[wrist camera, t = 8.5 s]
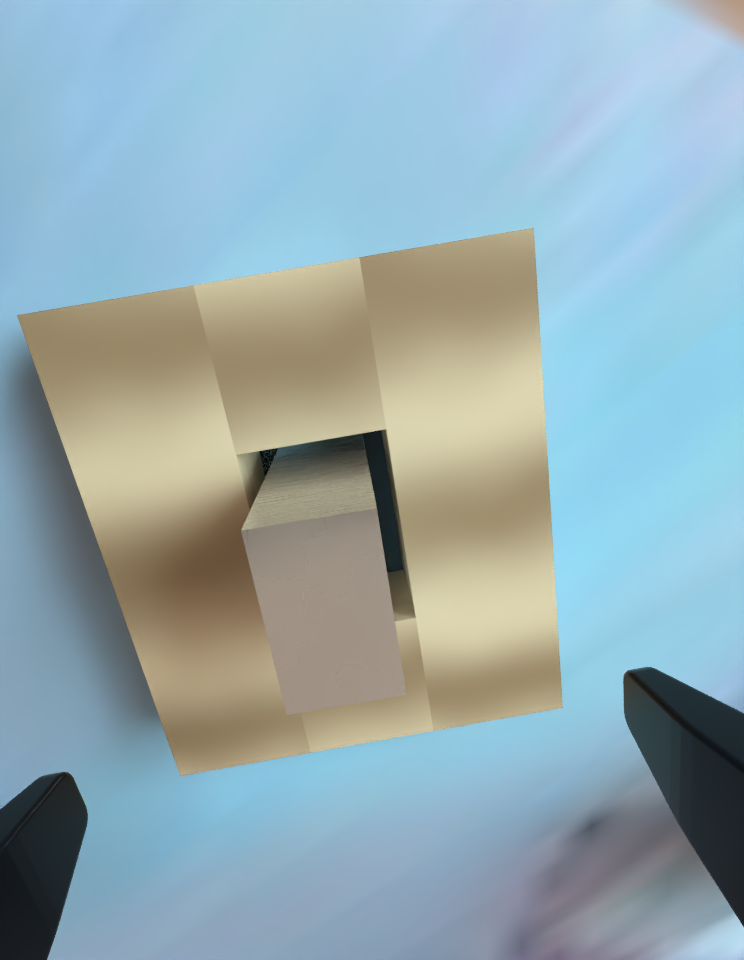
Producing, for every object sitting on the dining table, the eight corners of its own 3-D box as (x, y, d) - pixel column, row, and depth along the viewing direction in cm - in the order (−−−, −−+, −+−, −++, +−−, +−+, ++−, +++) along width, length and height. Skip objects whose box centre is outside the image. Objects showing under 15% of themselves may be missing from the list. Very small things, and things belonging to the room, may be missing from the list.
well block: (529, 649, 22) (562, 707, 19) (204, 706, 22) (180, 775, 19) (496, 244, 17) (533, 227, 14) (79, 315, 17) (17, 315, 14)
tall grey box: (381, 554, 21) (406, 695, 13) (306, 566, 21) (286, 715, 13) (361, 431, 19) (377, 508, 11) (280, 444, 19) (241, 530, 11)
